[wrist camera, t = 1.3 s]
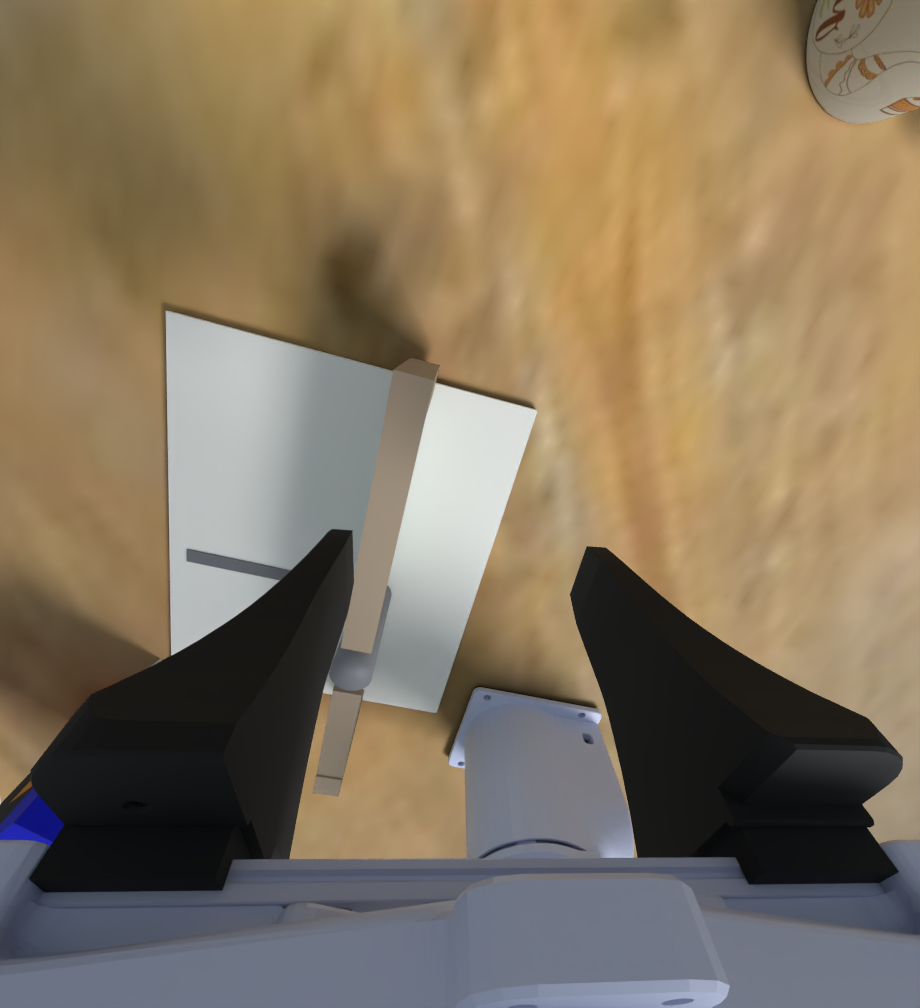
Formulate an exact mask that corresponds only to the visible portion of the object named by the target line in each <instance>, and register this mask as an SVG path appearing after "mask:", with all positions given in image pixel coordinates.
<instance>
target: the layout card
mask: <svg viewBox="0 0 920 1008" xmlns="http://www.w3.org/2000/svg"><path fill="white" fill-rule="evenodd" d="M166 361H167V424H168V486H169V549H170V611H171V656H172V655H173V654H175V653H177V652H179V651H181V650H182V649H184V648H186V647H188V646H189V645H191V644H193V643H195V642H196V641H198V640H200V639H201V638H203V637H204V636H206V635H208V634H209V633H211V632H212V631H214V630H215V629H217V628H219V627H220V626H222V625H223V624H225V623H226V622H228V621H229V620H231V619H232V618H234V617H235V616H236V615H238V614H239V613H241V612H242V611H243V610H245V609H246V608H247V607H249V606H250V605H251V604H253V603H254V602H255V601H256V600H258V599H259V598H260V597H261V596H263V595H264V594H265V593H266V592H267V591H268V590H270V589H271V588H272V587H273V586H274V585H275V584H276V583H278V582H279V581H280V580H281V579H282V578H283V577H284V576H285V575H287V574H288V573H289V572H290V571H291V570H292V569H293V568H294V567H295V566H296V565H297V564H298V563H299V562H300V561H301V560H302V559H303V558H304V557H305V556H306V555H307V554H308V553H309V552H310V551H311V550H312V549H313V548H314V547H315V545H316V544H317V543H318V542H319V541H320V540H321V539H322V538H323V537H324V536H325V535H326V533H327V532H328V531H330V530H331V529H341V530H353V563H354V576H355V570H356V565H357V560H358V555H359V550H360V544H361V539H362V534H363V529H364V523H365V518H366V513H367V508H368V502H369V497H370V492H371V487H372V481H373V476H374V471H375V466H376V460H377V455H378V450H379V445H380V439H381V434H382V429H383V424H384V419H385V413H386V406H387V401H388V396H389V391H390V385H391V380H392V375H393V371H392V370H388V369H385V368H381V367H377V366H374V365H370V364H366V363H362V362H359V361H355V360H351V359H348V358H344V357H340V356H336V355H333V354H329V353H325V352H322V351H318V350H314V349H310V348H307V347H303V346H299V345H296V344H292V343H288V342H284V341H281V340H277V339H273V338H270V337H266V336H262V335H258V334H255V333H251V332H247V331H244V330H240V329H236V328H232V327H229V326H225V325H221V324H218V323H214V322H210V321H206V320H203V319H199V318H195V317H192V316H188V315H184V314H180V313H177V312H173V311H166ZM536 414H537V410H536V409H533V408H530V407H526V406H522V405H518V404H515V403H511V402H507V401H504V400H500V399H496V398H492V397H489V396H485V395H481V394H478V393H474V392H470V391H466V390H463V389H459V388H455V387H452V386H448V385H444V384H440V383H437V382H436V384H435V388H434V392H433V396H432V399H431V402H430V406H429V409H428V412H427V415H426V419H425V423H424V427H423V432H422V436H421V440H420V445H419V449H418V454H417V458H416V462H415V467H414V471H413V475H412V480H411V484H410V488H409V493H408V497H407V501H406V506H405V510H404V514H403V519H402V523H401V527H400V532H399V536H398V540H397V545H396V549H395V554H394V558H393V562H392V567H391V571H390V575H389V580H388V584H387V585H388V586H389V588H390V589H391V593H392V595H391V600H390V604H389V609H388V613H387V617H386V621H385V626H384V630H383V634H382V638H381V643H380V647H379V651H378V656H377V660H376V664H375V668H374V673H373V677H372V680H371V682H370V684H369V685H368V686H367V687H365V688H363V690H364V694H363V699H362V700H365V701H371V702H376V703H382V704H388V705H393V706H399V707H405V708H410V709H416V710H421V711H427V712H433V713H437V710H438V707H439V704H440V701H441V698H442V695H443V692H444V689H445V686H446V683H447V680H448V677H449V674H450V671H451V668H452V665H453V662H454V659H455V656H456V653H457V650H458V647H459V644H460V641H461V638H462V635H463V632H464V629H465V626H466V623H467V620H468V617H469V614H470V611H471V608H472V605H473V602H474V599H475V596H476V593H477V590H478V587H479V584H480V581H481V578H482V575H483V572H484V569H485V566H486V563H487V560H488V557H489V554H490V551H491V548H492V545H493V543H494V540H495V537H496V534H497V531H498V528H499V525H500V522H501V519H502V516H503V513H504V510H505V507H506V504H507V501H508V498H509V495H510V492H511V489H512V486H513V483H514V480H515V477H516V474H517V471H518V468H519V465H520V462H521V459H522V456H523V453H524V450H525V447H526V444H527V441H528V438H529V435H530V432H531V429H532V426H533V423H534V420H535V417H536ZM345 623H346V621H345ZM344 628H345V624H344V627H343V630H342V633H341V636H340V639H339V642H338V645H337V648H338V646H339V643H340V640H341V637H342V635H343V632H344ZM336 651H337V649H336ZM335 654H336V652H335ZM334 656H335V655H334ZM333 659H334V658H333ZM332 662H333V661H332ZM331 665H332V664H331ZM329 671H330V670H329ZM334 685H335V684H334V683H333V682H332V681H331V679H330V676H329V673H328V676H327V679H326V683H325V686H324V690H323V693H325V694H331V695H332V691H333V688H334Z"/></svg>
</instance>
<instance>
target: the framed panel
mask: <svg viewBox="0 0 920 1008" xmlns="http://www.w3.org/2000/svg"><path fill="white" fill-rule="evenodd" d="M439 366H440V365H436V364H433V363H429V362H425V361H422V360H418V359H415V358H409V359H408V360H407V361H405V362H404V363H402V364H401V365H399V366H398V367H396V368H395V369H394V370H393V375H392V380H391V385H390V391H389V396H388V401H387V406H386V413H385V419H384V424H383V429H382V434H381V439H380V445H379V450H378V455H377V460H376V466H375V471H374V476H373V481H372V487H371V492H370V497H369V502H368V508H367V513H366V518H365V523H364V529H363V534H362V539H361V544H360V550H359V555H358V560H357V565H356V570H355V576H354V585H353V590H352V596H351V601H350V606H349V611H348V614H347V618H346V623H345V628H344V633H343V639H342V644H341V648H344V649H349V650H354V651H359V652H365V653H370V654H371V653H372V649H373V645H374V641H375V636H376V632H377V627H378V623H379V619H380V614H381V610H382V606H383V601H384V597H385V593H386V588H387V584H388V580H389V575H390V571H391V567H392V562H393V558H394V554H395V549H396V545H397V540H398V536H399V532H400V527H401V523H402V519H403V514H404V510H405V506H406V501H407V497H408V493H409V488H410V484H411V480H412V475H413V471H414V467H415V462H416V458H417V454H418V449H419V445H420V440H421V436H422V432H423V427H424V423H425V419H426V415H427V412H428V409H429V406H430V402H431V399H432V396H433V392H434V388H435V384H436V379H437V375H438V371H439Z"/></svg>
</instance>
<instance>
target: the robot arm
mask: <svg viewBox="0 0 920 1008" xmlns="http://www.w3.org/2000/svg"><path fill="white" fill-rule="evenodd" d="M353 585H354V563H353V530H341V529H331V530H330V531H328V532H327V533H326V535H325V536H324V537H323V538H322V539H321V540H320V541H319V542H318V543H317V544H316V545H315V547H314V548H313V549H312V550H311V551H310V552H309V553H308V554H307V555H306V556H305V557H304V558H303V559H302V560H301V561H300V562H299V563H298V564H297V565H296V566H295V567H294V568H293V569H292V570H291V571H290V572H289V573H288V574H287V575H285V576H284V577H283V578H282V579H281V580H280V581H279V582H278V583H276V584H275V585H274V586H273V587H272V588H271V589H270V590H268V591H267V592H266V593H265V594H264V595H263V596H261V597H260V598H259V599H258V600H256V601H255V602H254V603H253V604H251V605H250V606H249V607H247V608H246V609H245V610H243V611H242V612H241V613H239V614H238V615H236V616H235V617H234V618H232V619H231V620H229V621H228V622H226V623H225V624H223V625H222V626H220V627H219V628H217V629H215V630H214V631H212V632H211V633H209V634H208V635H206V636H204V637H203V638H201V639H200V640H198V641H196V642H195V643H193V644H191V645H189V646H188V647H186V648H184V649H182V650H181V651H179V652H177V653H175V654H173V655H172V656H170V657H168V658H166V659H164V660H162V661H160V662H159V663H157V664H155V665H153V666H151V667H149V668H147V669H145V670H143V671H141V672H139V673H136V674H134V675H132V676H130V677H128V678H126V679H124V680H122V681H120V682H117V683H115V684H113V685H111V686H109V687H107V688H105V689H103V690H100V691H98V692H96V693H93V694H91V695H90V696H89V698H88V699H87V700H86V701H85V702H84V703H83V704H82V706H81V707H80V708H79V709H78V710H77V711H76V712H75V714H74V715H73V716H72V717H71V719H70V720H69V721H68V722H67V724H66V725H65V726H64V728H63V729H62V730H61V732H60V733H59V734H58V736H57V737H56V738H55V739H54V741H53V742H52V743H51V745H50V746H49V747H48V748H47V750H46V751H45V752H44V754H43V755H42V756H41V757H40V759H39V760H38V761H37V763H36V764H35V765H34V766H33V768H32V769H31V778H30V780H31V784H32V786H33V788H34V789H35V791H36V793H37V794H38V796H39V797H40V798H41V799H42V800H43V801H44V802H45V803H46V805H47V806H48V807H49V808H50V809H51V810H52V811H53V812H54V814H55V815H56V816H57V817H58V818H59V819H60V820H61V821H62V823H63V824H64V826H63V827H62V829H61V830H60V832H59V834H58V835H57V837H56V838H55V840H54V841H53V843H52V844H51V846H49V845H47V844H44V843H41V842H37V841H29V840H0V1008H920V840H892V841H887V842H883V843H880V844H878V842H877V841H876V840H875V838H874V837H873V835H872V834H871V833H870V831H869V830H868V829H867V827H872V826H873V825H874V820H873V819H872V817H871V816H870V815H869V813H868V812H867V811H866V809H865V808H864V807H863V805H862V804H863V803H864V802H866V801H867V800H868V799H870V798H871V797H872V796H874V795H875V794H876V793H878V792H879V791H881V790H882V789H883V788H885V787H886V786H887V785H889V784H890V783H891V782H892V781H893V780H894V779H895V778H896V777H898V775H899V773H900V772H901V770H902V766H903V757H902V756H901V755H900V754H899V753H898V752H897V750H896V749H895V748H894V747H893V746H892V745H891V744H890V743H889V741H888V740H887V739H886V738H885V737H884V736H883V735H882V733H881V732H880V731H879V730H878V729H877V728H876V727H875V725H874V724H873V723H872V722H871V721H870V720H869V719H868V718H866V717H864V716H862V715H860V714H858V713H856V712H853V711H851V710H849V709H847V708H845V707H843V706H840V705H838V704H836V703H834V702H832V701H830V700H827V699H825V698H823V697H821V696H819V695H817V694H814V693H812V692H810V691H808V690H807V689H805V688H803V687H801V686H799V685H797V684H795V683H793V682H791V681H789V680H787V679H785V678H783V677H782V676H780V675H778V674H776V673H774V672H772V671H771V670H769V669H767V668H765V667H763V666H762V665H760V664H758V663H757V662H755V661H753V660H752V659H750V658H748V657H747V656H745V655H743V654H742V653H740V652H738V651H737V650H735V649H734V648H732V647H730V646H729V645H727V644H726V643H724V642H723V641H721V640H720V639H718V638H717V637H715V636H714V635H712V634H711V633H709V632H708V631H707V630H705V629H704V628H702V627H701V626H699V625H698V624H697V623H695V622H694V621H693V620H691V619H690V618H689V617H687V616H686V615H685V614H683V613H682V612H681V611H680V610H678V609H677V608H676V607H675V606H673V605H672V604H671V603H669V602H668V601H667V600H666V599H665V598H663V597H662V596H661V595H660V594H659V593H657V592H656V591H655V590H654V589H653V588H652V587H650V586H649V585H648V584H647V583H646V582H645V581H644V580H642V579H641V578H640V577H639V576H638V575H637V574H636V573H635V572H633V571H632V570H631V569H630V568H629V567H628V566H627V565H626V564H624V563H623V562H622V561H621V560H620V559H619V558H618V557H616V556H615V555H614V554H613V553H612V552H610V551H609V550H608V549H607V548H602V547H588V546H587V547H586V550H585V553H584V556H583V559H582V562H581V565H580V568H579V570H578V573H577V576H576V579H575V582H574V585H573V588H572V591H571V593H570V596H571V601H572V606H573V611H574V615H575V620H576V624H577V627H578V630H579V632H580V635H581V638H582V641H583V644H584V646H585V649H586V652H587V654H588V657H589V660H590V662H591V665H592V668H593V671H594V673H595V676H596V679H597V681H598V684H599V687H600V689H601V692H602V696H603V699H604V702H605V705H606V709H607V713H608V716H609V720H610V724H611V728H612V732H613V736H614V740H615V744H616V749H617V753H618V757H619V762H620V766H621V770H622V775H623V780H624V785H625V790H626V795H627V800H628V805H629V810H630V814H629V810H628V807H627V804H626V801H625V798H624V795H623V792H622V790H621V787H620V784H619V781H618V779H617V776H616V773H615V770H614V768H613V765H612V762H611V759H610V756H609V754H608V751H607V748H606V745H605V743H604V740H603V737H602V734H601V732H600V729H599V726H598V723H599V721H600V720H601V717H602V716H601V713H600V711H599V710H598V709H595V708H590V707H585V706H579V705H574V704H569V703H563V702H558V701H552V700H547V699H542V698H536V697H531V696H526V695H520V694H515V693H510V692H504V691H499V690H494V689H488V688H483V687H478V688H475V689H474V690H473V692H472V695H471V698H470V700H469V703H468V706H467V709H466V711H465V714H464V717H463V719H462V722H461V725H460V727H459V730H458V733H457V735H456V738H455V741H454V743H453V746H452V749H451V752H450V754H449V757H448V763H449V765H451V766H453V767H459V768H465V805H466V848H467V858H463V859H289V857H290V851H291V846H292V841H293V835H294V830H295V824H296V819H297V813H298V808H299V803H300V798H301V793H302V788H303V783H304V777H305V772H306V767H307V762H308V758H309V753H310V748H311V743H312V738H313V734H314V729H315V724H316V720H317V715H318V711H319V706H320V702H321V697H322V693H323V690H324V686H325V683H326V679H327V676H328V673H329V670H330V667H331V664H332V661H333V658H334V655H335V652H336V649H337V645H338V642H339V639H340V636H341V633H342V630H343V627H344V624H345V621H346V618H347V614H348V611H349V606H350V601H351V596H352V590H353ZM485 695H489V696H485ZM630 815H631V819H630ZM631 821H632V824H631ZM632 827H633V831H632ZM633 833H634V839H635V845H636V850H637V856H638V858H634V842H633Z"/></svg>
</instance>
